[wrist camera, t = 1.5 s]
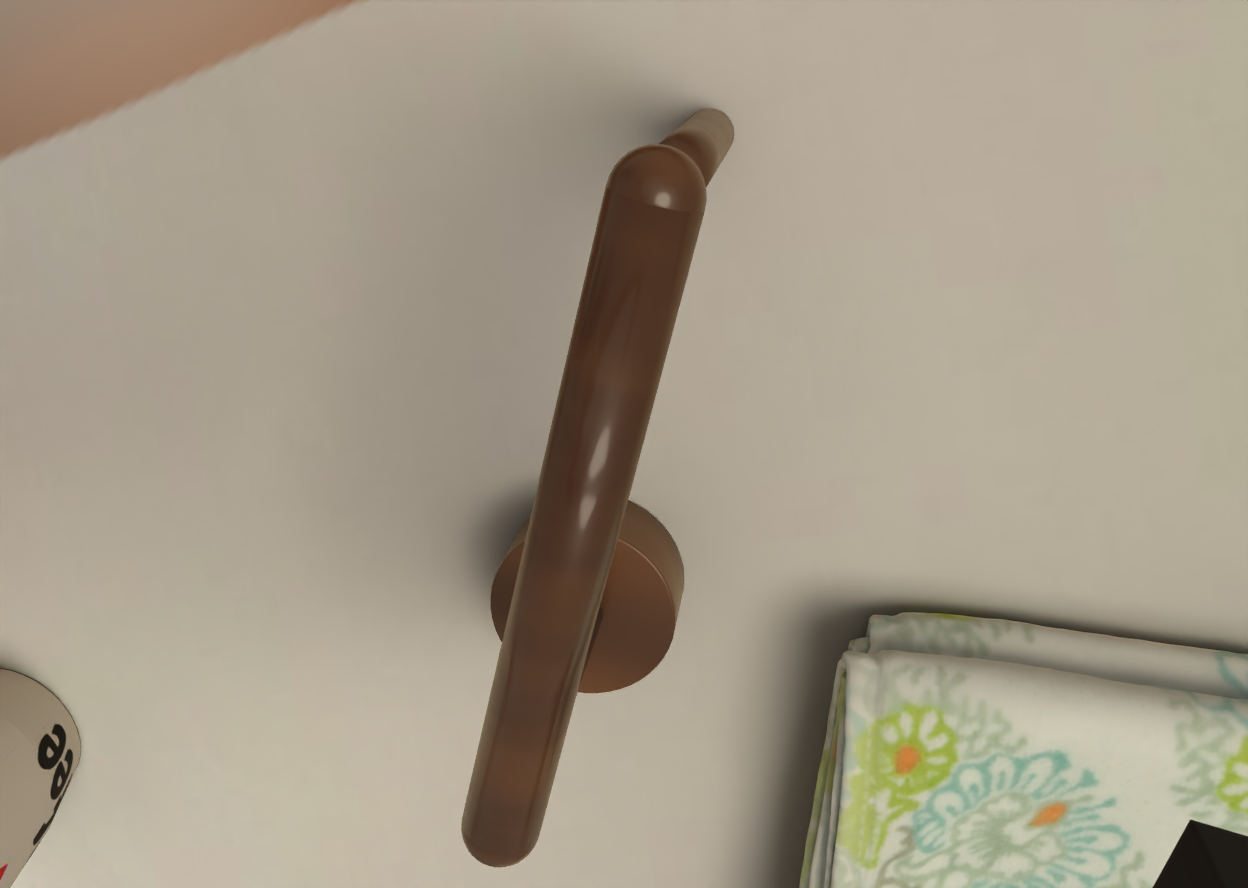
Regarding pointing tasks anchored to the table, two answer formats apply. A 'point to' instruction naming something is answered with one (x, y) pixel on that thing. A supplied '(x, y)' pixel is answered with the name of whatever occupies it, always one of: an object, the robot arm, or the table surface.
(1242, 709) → the towel
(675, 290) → the bent wooden rod
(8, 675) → the cup
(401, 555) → the table surface
